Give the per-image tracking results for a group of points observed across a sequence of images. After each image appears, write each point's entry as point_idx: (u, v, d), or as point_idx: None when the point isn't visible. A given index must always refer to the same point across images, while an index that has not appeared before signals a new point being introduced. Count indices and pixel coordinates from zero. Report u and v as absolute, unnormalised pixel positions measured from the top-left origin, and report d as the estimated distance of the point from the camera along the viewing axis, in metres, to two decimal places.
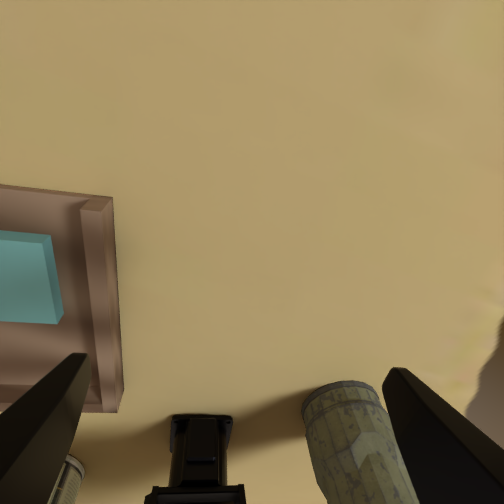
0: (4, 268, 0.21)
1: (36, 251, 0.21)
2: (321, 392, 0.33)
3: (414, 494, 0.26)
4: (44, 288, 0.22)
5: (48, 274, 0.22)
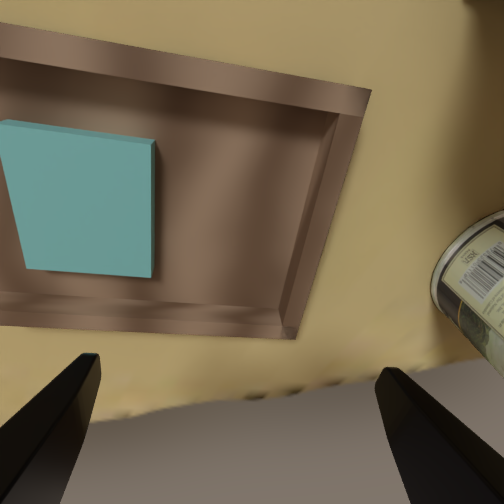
0: (53, 184, 0.16)
1: (10, 135, 0.15)
2: None
3: None
4: (79, 143, 0.15)
5: (51, 131, 0.15)
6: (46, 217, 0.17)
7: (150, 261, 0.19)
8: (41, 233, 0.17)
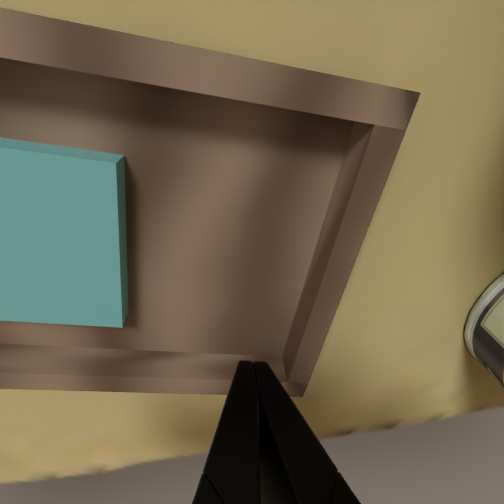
0: None
1: None
2: None
3: None
4: (16, 160, 0.11)
5: None
6: None
7: (121, 308, 0.15)
8: None
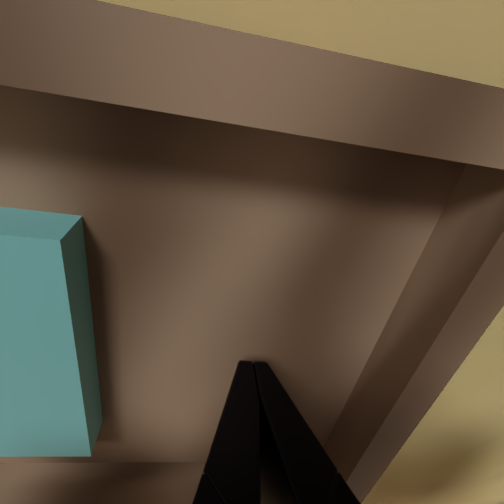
0: None
1: None
2: None
3: None
4: None
5: None
6: None
7: (87, 434, 0.10)
8: None
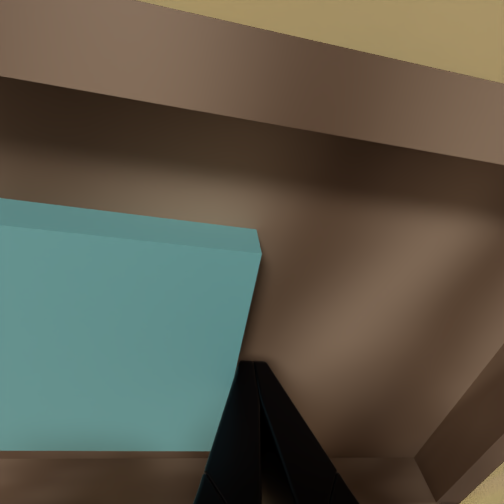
0: (43, 326, 0.08)
1: None
2: None
3: None
4: (103, 252, 0.07)
5: (38, 227, 0.06)
6: (27, 378, 0.08)
7: None
8: (17, 402, 0.09)
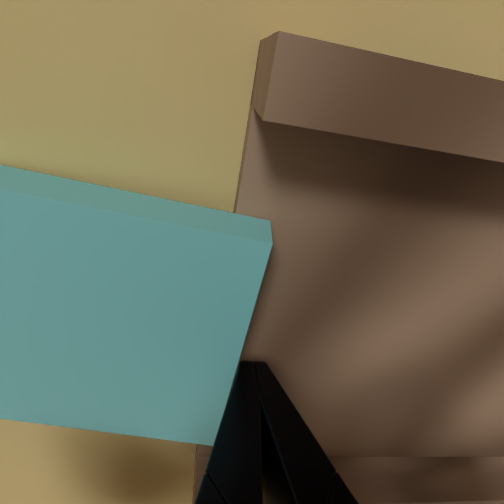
0: (53, 299, 0.08)
1: None
2: None
3: None
4: (115, 229, 0.07)
5: (54, 198, 0.06)
6: (35, 349, 0.09)
7: (218, 424, 0.10)
8: (24, 372, 0.09)
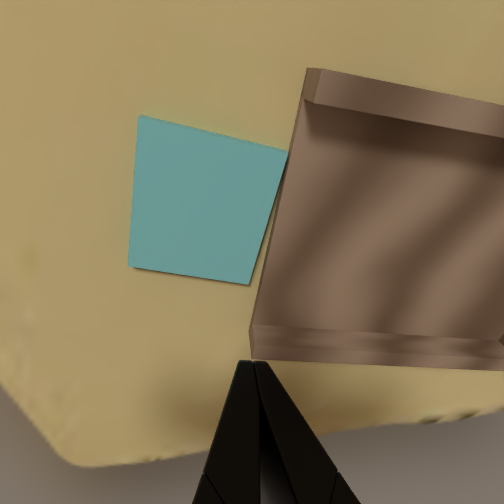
0: (180, 184, 0.16)
1: (152, 130, 0.14)
2: None
3: None
4: (218, 145, 0.15)
5: (193, 130, 0.15)
6: (163, 216, 0.17)
7: (252, 268, 0.19)
8: (153, 232, 0.17)
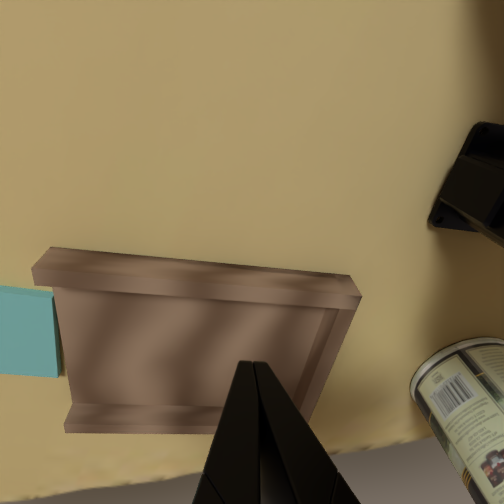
0: None
1: None
2: None
3: None
4: None
5: None
6: None
7: (56, 367, 0.24)
8: None
